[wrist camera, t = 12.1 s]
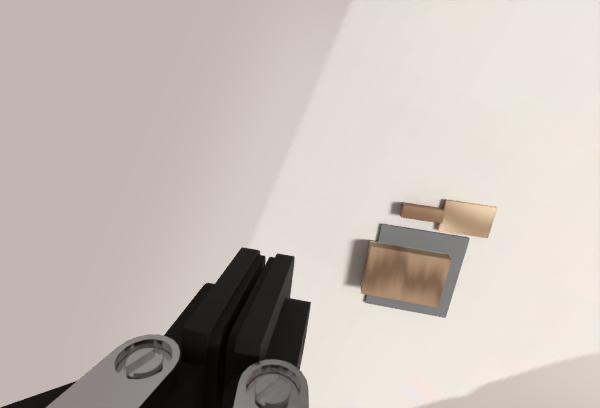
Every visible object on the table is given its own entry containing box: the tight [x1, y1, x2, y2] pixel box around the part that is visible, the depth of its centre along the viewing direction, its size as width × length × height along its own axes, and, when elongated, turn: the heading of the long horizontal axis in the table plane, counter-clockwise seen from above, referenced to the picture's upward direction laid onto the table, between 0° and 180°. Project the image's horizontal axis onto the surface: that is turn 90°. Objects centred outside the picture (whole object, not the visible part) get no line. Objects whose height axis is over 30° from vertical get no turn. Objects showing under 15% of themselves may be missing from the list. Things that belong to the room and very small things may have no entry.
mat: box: [365, 224, 469, 318], centre depth 45 cm, size 12×11×1 cm
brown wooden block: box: [361, 241, 451, 307], centre depth 44 cm, size 7×2×10 cm
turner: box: [400, 199, 497, 238], centre depth 42 cm, size 4×11×1 cm, turn 83°
